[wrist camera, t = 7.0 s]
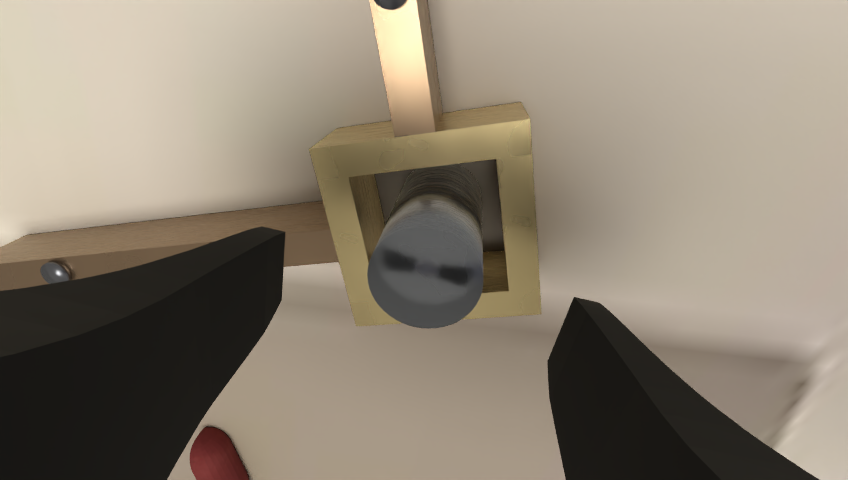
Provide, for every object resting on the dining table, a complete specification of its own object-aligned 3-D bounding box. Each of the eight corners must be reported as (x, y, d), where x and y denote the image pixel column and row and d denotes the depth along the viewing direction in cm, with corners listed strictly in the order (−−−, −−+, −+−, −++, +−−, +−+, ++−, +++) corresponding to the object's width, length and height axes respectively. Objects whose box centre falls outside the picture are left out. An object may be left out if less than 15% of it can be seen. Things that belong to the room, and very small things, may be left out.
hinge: (531, 270, 18) (542, 317, 15) (69, 308, 21) (5, 352, 18) (470, -674, 9) (466, -1005, 6) (-306, -341, 12) (-541, -449, 10)
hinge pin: (482, 233, 17) (485, 328, 12) (406, 236, 18) (375, 328, 12) (480, 157, 16) (481, 225, 11) (397, 162, 17) (359, 229, 11)
